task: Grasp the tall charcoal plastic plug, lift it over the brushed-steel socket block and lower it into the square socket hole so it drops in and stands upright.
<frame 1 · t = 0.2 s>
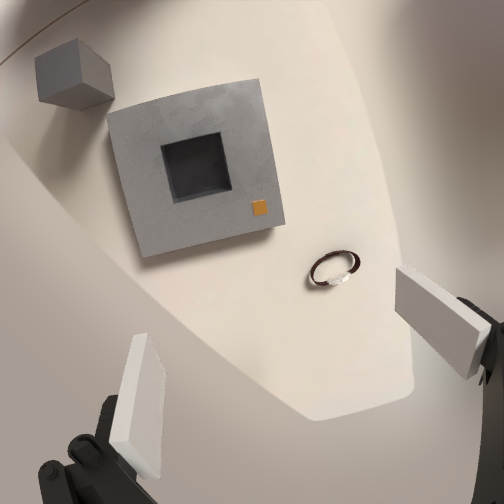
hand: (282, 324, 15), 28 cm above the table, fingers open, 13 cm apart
plug: (94, 87, 32), on the table
socket: (196, 165, 38), on the table
watch: (331, 263, 46), on the table
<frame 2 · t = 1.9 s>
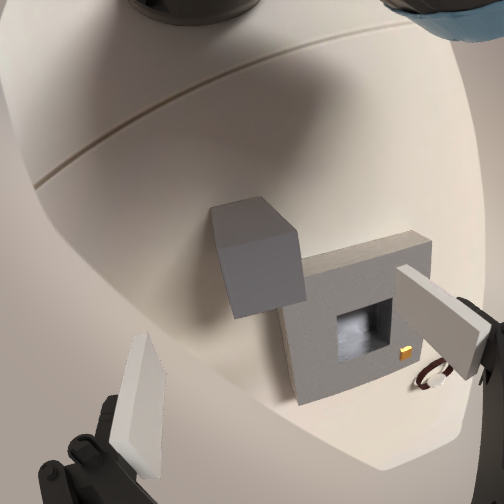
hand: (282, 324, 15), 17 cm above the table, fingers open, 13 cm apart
plug: (240, 226, 31), on the table
socket: (351, 314, 37), on the table
watch: (430, 368, 45), on the table
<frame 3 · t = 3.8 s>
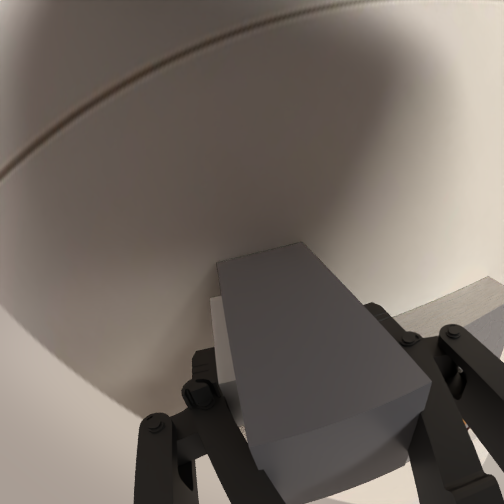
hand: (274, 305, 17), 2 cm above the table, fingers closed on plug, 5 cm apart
plug: (267, 290, 19), on the table, touching gripper
socket: (405, 386, 25), on the table
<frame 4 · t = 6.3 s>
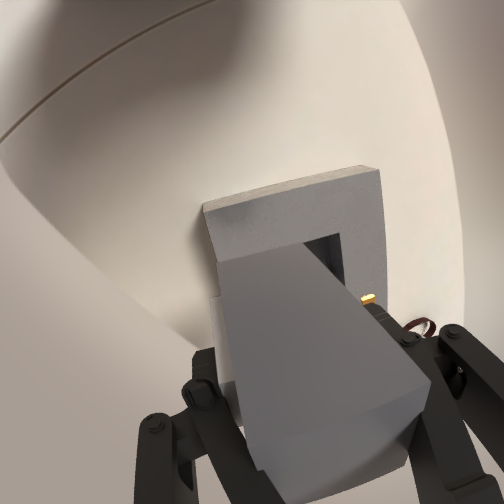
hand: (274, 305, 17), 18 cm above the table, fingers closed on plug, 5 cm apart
plug: (267, 290, 19), point 16 cm above the table, touching gripper
socket: (301, 257, 36), on the table
watch: (409, 329, 44), on the table
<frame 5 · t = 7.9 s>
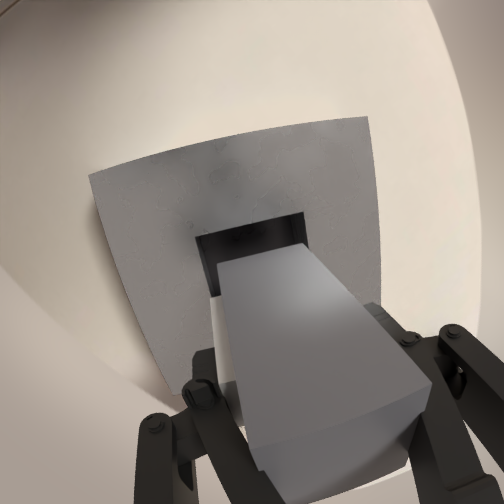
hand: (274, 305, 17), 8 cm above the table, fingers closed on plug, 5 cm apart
plug: (267, 291, 19), point 6 cm above the table, touching gripper
socket: (250, 253, 24), on the table
when the fingers open (5 cm above the table, at t = 8.9 s): plug drops 3 cm, resting on socket.
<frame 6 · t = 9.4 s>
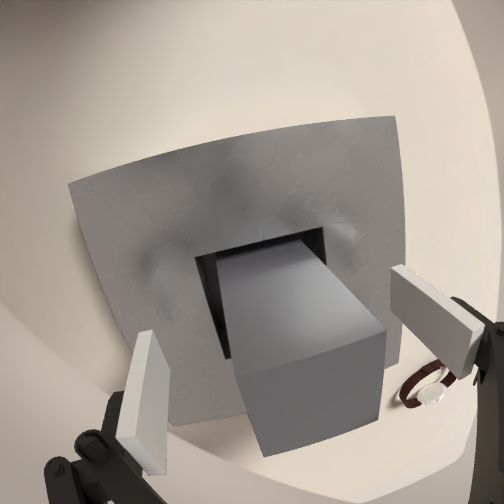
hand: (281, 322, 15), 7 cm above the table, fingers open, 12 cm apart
plug: (259, 272, 21), resting on socket
socket: (258, 271, 21), on the table
watch: (423, 374, 30), on the table
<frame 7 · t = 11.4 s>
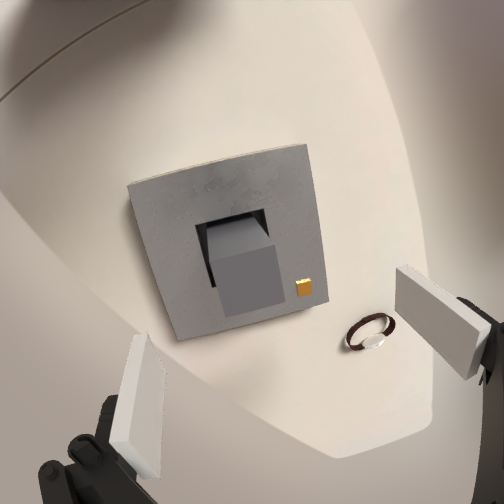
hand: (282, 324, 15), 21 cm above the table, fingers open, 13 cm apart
plug: (233, 239, 35), resting on socket
socket: (233, 238, 36), on the table
watch: (366, 326, 44), on the table
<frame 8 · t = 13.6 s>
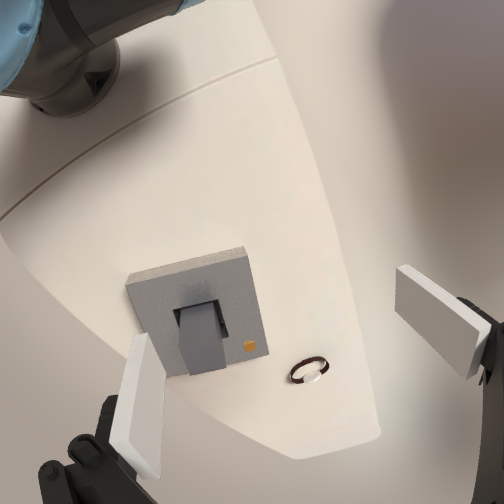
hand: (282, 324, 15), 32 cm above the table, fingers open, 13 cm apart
plug: (200, 311, 49), resting on socket
socket: (200, 310, 50), on the table
watch: (307, 365, 58), on the table
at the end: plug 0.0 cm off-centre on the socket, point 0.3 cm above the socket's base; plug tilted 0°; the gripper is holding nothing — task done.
